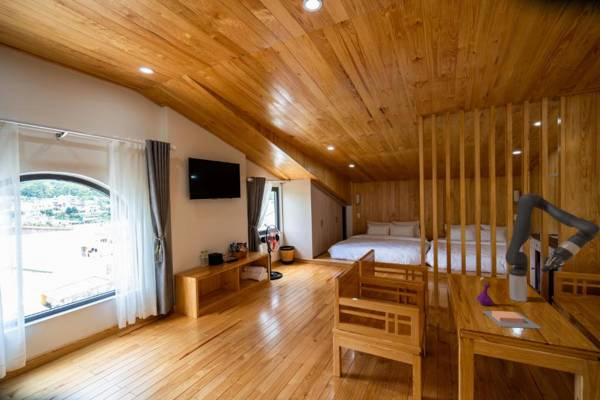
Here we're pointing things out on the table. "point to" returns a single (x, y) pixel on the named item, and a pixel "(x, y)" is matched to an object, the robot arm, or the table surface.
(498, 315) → the tile
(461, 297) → the table surface
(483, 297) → the perfume bottle
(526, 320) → the mat
